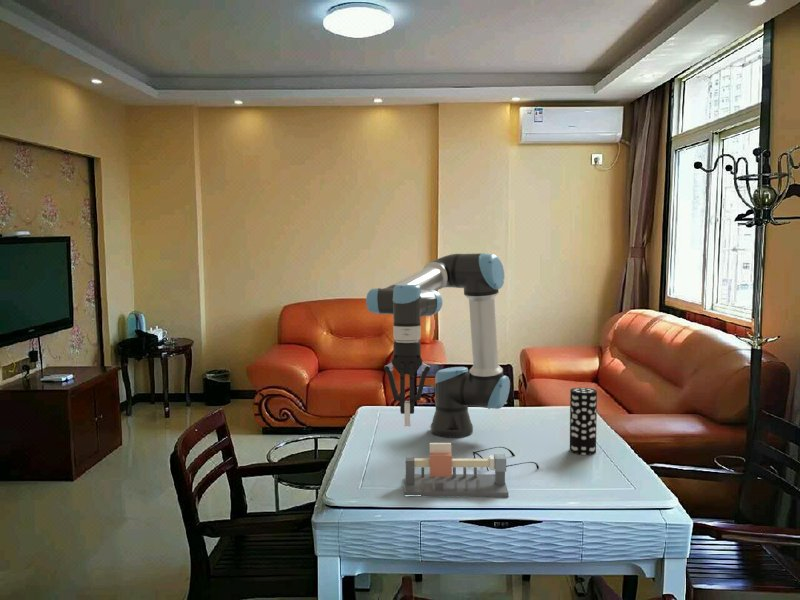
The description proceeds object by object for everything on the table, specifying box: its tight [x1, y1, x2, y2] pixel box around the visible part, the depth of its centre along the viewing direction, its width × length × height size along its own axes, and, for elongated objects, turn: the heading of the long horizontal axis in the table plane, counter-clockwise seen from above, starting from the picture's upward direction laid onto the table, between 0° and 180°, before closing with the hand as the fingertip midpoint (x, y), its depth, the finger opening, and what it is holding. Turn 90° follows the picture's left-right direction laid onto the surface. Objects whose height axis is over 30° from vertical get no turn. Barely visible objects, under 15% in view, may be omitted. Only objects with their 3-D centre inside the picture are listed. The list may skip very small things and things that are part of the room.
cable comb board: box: [403, 456, 509, 498], centre depth 185 cm, size 28×14×8 cm, turn 88°
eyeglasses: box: [472, 446, 540, 472], centre depth 203 cm, size 16×16×4 cm
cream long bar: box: [414, 453, 507, 473], centre depth 185 cm, size 27×4×4 cm, turn 88°
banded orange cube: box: [429, 442, 453, 477], centre depth 185 cm, size 6×6×8 cm
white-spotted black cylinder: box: [569, 387, 598, 456], centre depth 215 cm, size 8×8×20 cm
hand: (407, 425), depth 184 cm, fingers closed
